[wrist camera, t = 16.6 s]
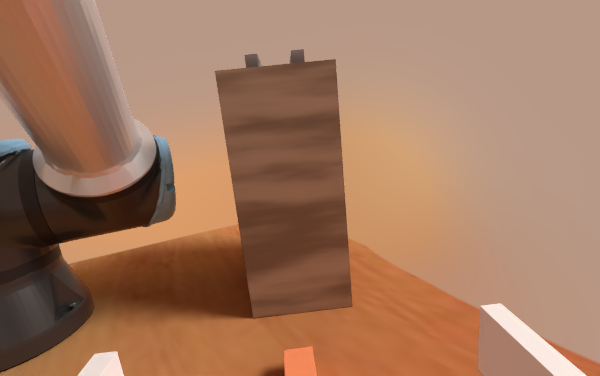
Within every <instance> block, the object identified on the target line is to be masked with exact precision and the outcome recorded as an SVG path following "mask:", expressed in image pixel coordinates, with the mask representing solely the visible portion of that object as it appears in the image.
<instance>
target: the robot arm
mask: <svg viewBox="0 0 600 376" xmlns="http://www.w3.org/2000/svg"><path fill="white" fill-rule="evenodd" d="M0 98H1V99H2V101H3V102H4V104H5V105H6V106H7V107H8V109H9V110H10V111H11V113H12V114H13V115H14V117H15V118H16V119H17V120H18V122H19V123H20V124H21V125H22V127H23V128H24V129H25V131H26V132H27V133H28V135H29V136H30V137H31V139H32V140H33V141H34V142H35V144H36V146H35V149H34V150H31V149H32V146H31V145H30V144H28V142H27V141H26V140H24V139H9V140H2V141H0V371H3V370H5V369H8V368H11V367H13V366H15V365H18V364H20V363H22V362H25V361H27V360H29V359H31V358H33V357H35V356H37V355H39V354H41V353H43V352H44V351H46V350H48V349H50V348H51V347H53V346H55V345H56V344H58V343H59V342H61V341H62V340H64V339H65V338H67V337H68V336H70V335H71V334H72V333H73V332H75V331H76V330H77V329H78V328H79V327H80V326H82V325H83V324H84V323H85V321H86V320H87V319H88V318H89V317H90V315H91V313H92V311H93V308H94V303H93V300H92V297H91V293H90V291H89V289H88V287H87V286H86V285H85V284H84V283H83V281H82V280H81V279H80V278H79V277H78V275H77V274H76V273H75V272H74V271H73V269H72V268H71V267H70V266H69V265H68V264H67V262H66V261H65V260H64V259H63V256H62V253H61V250H60V247H59V243H64V242H68V241H73V240H78V239H82V238H87V237H92V236H97V235H102V234H107V233H112V232H117V231H121V230H126V229H131V228H136V227H141V226H142V227H149V226H150V225H152V224H155V223H159V222H163V221H166V220H168V219H170V218H171V217H172V216H173V214H174V212H175V206H176V194H175V186H174V172H173V164H172V158H171V153H170V148H169V145H168V142H167V140H166V139H165V138H163V137H157V136H154V135H153V136H152V134H151V132H150V130H148V128H147V127H146V126H145V125H144V124H142V123H141V122H139V121H138V120H136V119H134V118H132V114H131V111H130V108H129V105H128V102H127V99H126V96H125V93H124V90H123V86H122V83H121V80H120V77H119V74H118V71H117V68H116V65H115V62H114V59H113V56H112V52H111V49H110V46H109V43H108V40H107V37H106V34H105V31H104V27H103V24H102V21H101V18H100V15H99V12H98V9H97V6H96V3H95V0H0ZM478 370H479V371H480V372H481V374H482V375H483V376H586V375H585V374H584V373H583V372H581V371H580V370H579V369H578V368H577V367H575V366H574V365H573V364H572V363H571V362H569V361H568V360H567V359H566V358H565V357H564V356H562V355H561V354H560V353H559V352H558V351H556V350H555V349H554V348H553V347H552V346H550V345H549V344H548V343H547V342H546V341H545V340H543V339H542V338H541V337H540V336H539V335H537V334H536V333H535V332H534V331H533V330H531V329H530V328H529V327H528V326H527V325H526V324H524V323H523V322H522V321H521V320H520V319H518V318H517V317H516V316H515V315H514V314H512V313H511V312H510V311H509V310H508V309H506V308H505V307H504V306H503V305H502V304H493V305H484V306H480V322H479V346H478ZM77 376H124V375H123V371H122V368H121V364H120V360H119V357H118V353H117V351H115V352H106V353H98V354H94V356H93V357H92V358H91V359H90V361H89V362H88V363H87V364H86V366H85V367H84V368H83V369H82V371H81V372H80V373H79V374H78V375H77Z"/></svg>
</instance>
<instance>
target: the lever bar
mask: <svg viewBox="0 0 600 376" xmlns="http://www.w3.org/2000/svg"><path fill="white" fill-rule="evenodd" d="M284 364H285V376H317V374H316V367H315V361H314V355H313V348H312V346H310V347H303V348H296V349H289V350H284Z"/></svg>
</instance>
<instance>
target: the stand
mask: <svg viewBox="0 0 600 376" xmlns="http://www.w3.org/2000/svg"><path fill="white" fill-rule="evenodd" d="M245 61H246V68H241V69H231V70H220V71H215V74H216V81H217V87H218V94H219V100H220V107H221V113H222V120H223V125H224V132H225V139H226V145H227V152H228V158H229V165H230V171H231V178H232V184H233V191H234V197H235V204H236V210H237V216H238V223H239V230H240V236H241V243H242V249H243V255H244V262H245V268H246V275H247V281H248V288H249V294H250V301H251V307H252V314H253V318H261V317H269V316H277V315H285V314H293V313H302V312H310V311H318V310H326V309H334V308H342V307H350V306H352V294H351V279H350V265H349V250H348V235H347V222H346V207H345V193H344V178H343V164H342V163H343V162H342V148H341V134H340V120H339V105H338V90H337V77H336V76H337V75H336V60H335V59H334V60H324V61H313V62H304V50H303V49H302V50H292V51H291V58H290V64H282V65H272V66H262V65H261V63H260V60H259V58H258V55H257V54H250V55H245Z"/></svg>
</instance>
